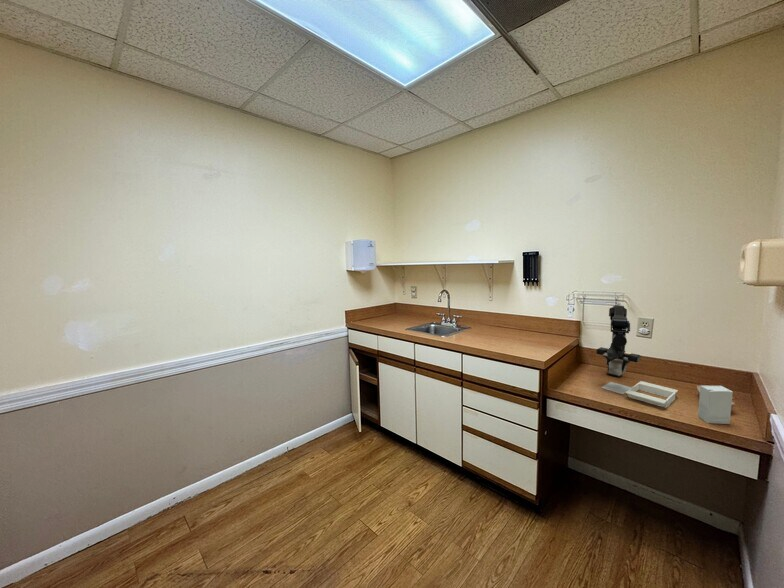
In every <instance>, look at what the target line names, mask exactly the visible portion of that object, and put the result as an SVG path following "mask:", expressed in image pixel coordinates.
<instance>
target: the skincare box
mask: <svg viewBox="0 0 784 588" xmlns="http://www.w3.org/2000/svg"><path fill="white" fill-rule="evenodd" d="M733 393H734V392H733V391H732V390H730V389H729V388H726V387H725V386H723V385H708V386H700V395H699V396H698V398H699V399H698V411H697V417H698V418H700V420H702V421H704V422H705V423H707V424H721V425H722V424H723V425H730V424H731V413H732V409H731V405H732V401H733Z"/></svg>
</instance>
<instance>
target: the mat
mask: <svg viewBox="0 0 784 588" xmlns="http://www.w3.org/2000/svg"><path fill="white" fill-rule="evenodd" d="M600 388H601V389H603V390H605V391H610V392H613V393H616V394H620V395H624V394H626V393H625V392H626V391H628V390H629V389H630V388H632V386H627V385H624V384H620V383H616V382H614V381H613V382H612V381H609V382H608V383H606V384H604V385H603V386H601V387H600Z"/></svg>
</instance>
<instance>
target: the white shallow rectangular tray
mask: <svg viewBox="0 0 784 588" xmlns="http://www.w3.org/2000/svg"><path fill="white" fill-rule="evenodd" d="M638 391H642V392H646V393H649V394H654V395H658V396H660V397H663V398H666V399H663V398H660V397H655V396H653V395H649V394H646V393H641V392H638ZM678 391H679V390H678V389H674V388H671V387H666V386H664V385H659V384H654V383H650V382H647V381H643V380H640V381H639V382H637V383H636V384H635V385H634V386H631V388H630V389H629V390H628V391H626V392H625V393H624V394H627V397H628V398H631V399H634V400H638V401H640V402H644V403H648V404H651V405H655V406H658V407H661V408H665V409H667V408H668V407H669V406H670V405H671V404H672V403H673V402H675V400H676V393H678Z"/></svg>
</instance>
